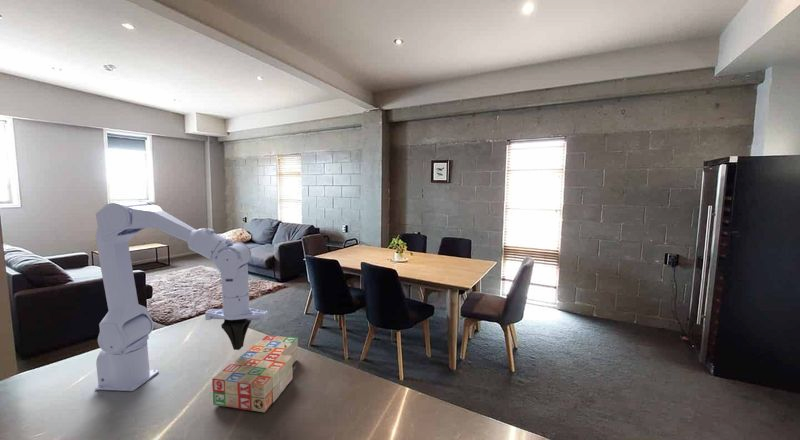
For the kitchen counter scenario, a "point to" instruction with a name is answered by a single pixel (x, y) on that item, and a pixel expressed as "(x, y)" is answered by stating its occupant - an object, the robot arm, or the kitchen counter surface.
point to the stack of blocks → (257, 375)
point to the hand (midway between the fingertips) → (238, 347)
